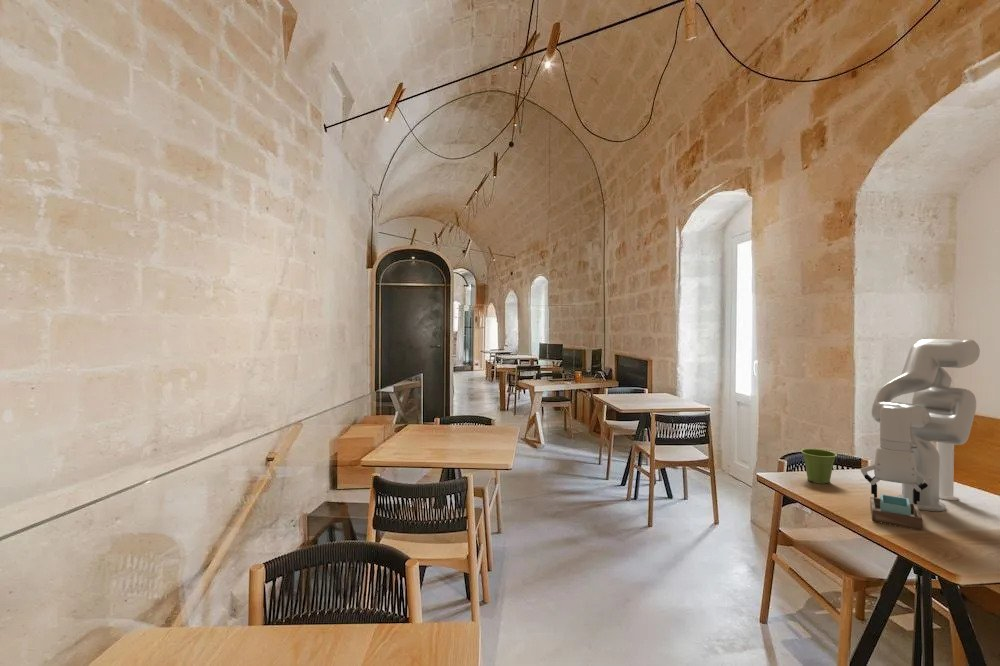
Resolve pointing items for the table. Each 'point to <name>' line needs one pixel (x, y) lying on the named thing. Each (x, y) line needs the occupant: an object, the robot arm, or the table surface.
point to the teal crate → (895, 505)
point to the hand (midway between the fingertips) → (894, 499)
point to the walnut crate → (896, 516)
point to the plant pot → (818, 464)
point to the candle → (946, 471)
